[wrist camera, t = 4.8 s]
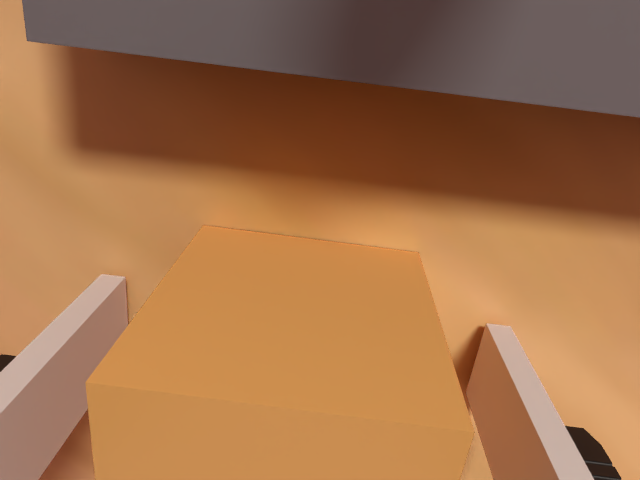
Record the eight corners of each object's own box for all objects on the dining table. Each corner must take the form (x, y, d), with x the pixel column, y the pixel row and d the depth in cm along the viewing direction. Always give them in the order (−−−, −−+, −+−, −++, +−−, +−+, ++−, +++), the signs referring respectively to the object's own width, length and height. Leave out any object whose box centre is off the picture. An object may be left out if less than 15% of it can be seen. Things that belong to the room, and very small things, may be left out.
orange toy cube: (200, 395, 17) (108, 617, 11) (203, 225, 14) (85, 382, 8) (382, 418, 17) (403, 656, 10) (418, 252, 14) (475, 432, 8)
